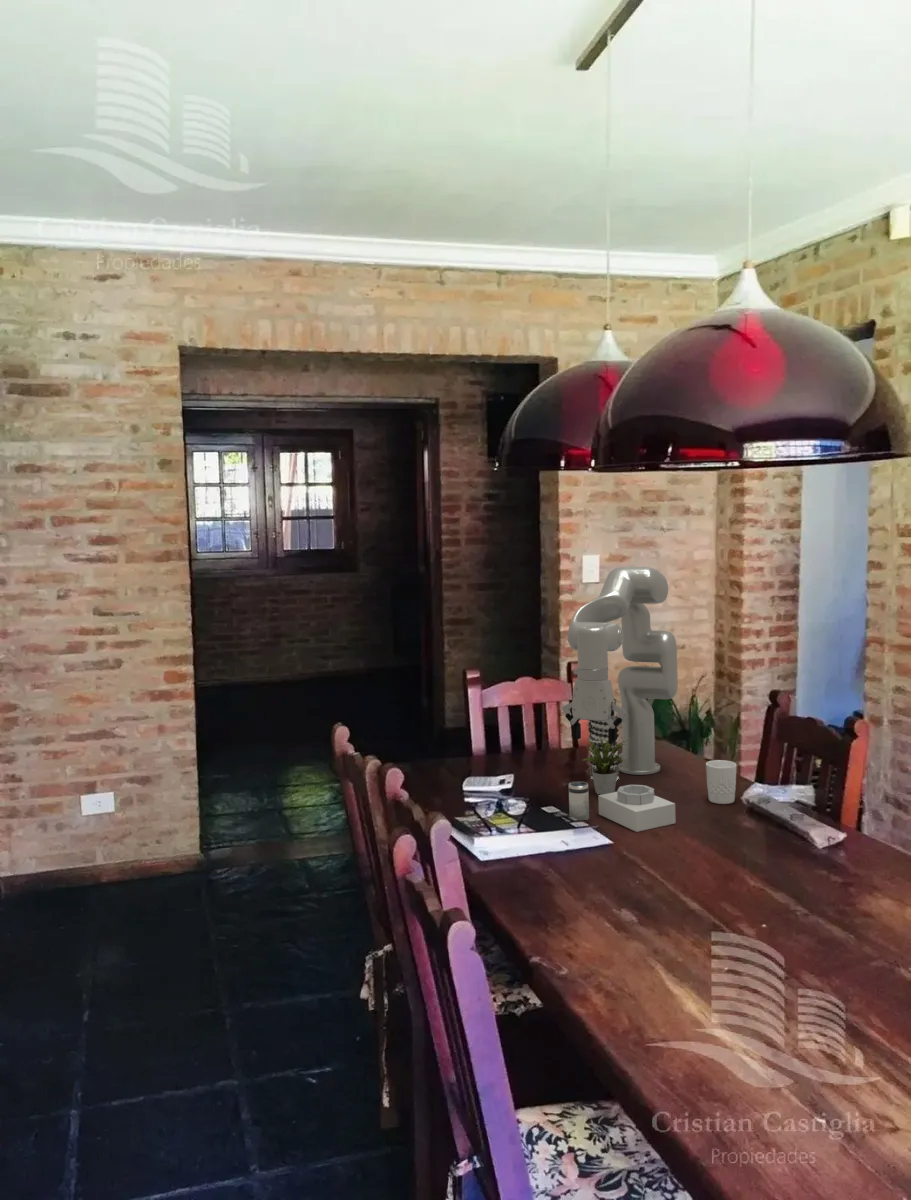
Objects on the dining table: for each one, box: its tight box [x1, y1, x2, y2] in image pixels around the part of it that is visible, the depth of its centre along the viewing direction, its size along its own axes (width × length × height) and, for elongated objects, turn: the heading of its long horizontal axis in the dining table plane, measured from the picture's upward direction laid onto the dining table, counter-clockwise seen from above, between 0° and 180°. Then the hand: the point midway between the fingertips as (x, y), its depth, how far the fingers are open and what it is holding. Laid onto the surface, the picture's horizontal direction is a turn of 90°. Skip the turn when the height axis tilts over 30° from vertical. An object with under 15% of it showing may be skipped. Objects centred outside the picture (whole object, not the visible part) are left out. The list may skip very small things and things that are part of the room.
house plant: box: [583, 736, 629, 795], centre depth 256 cm, size 14×14×16 cm
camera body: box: [597, 784, 677, 832], centre depth 235 cm, size 16×12×8 cm
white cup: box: [705, 759, 737, 805], centre depth 247 cm, size 8×8×10 cm
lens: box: [568, 780, 590, 821], centre depth 237 cm, size 5×5×9 cm
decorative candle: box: [587, 698, 620, 782], centre depth 271 cm, size 9×9×25 cm
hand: (594, 741), depth 235 cm, fingers open, 9 cm apart
